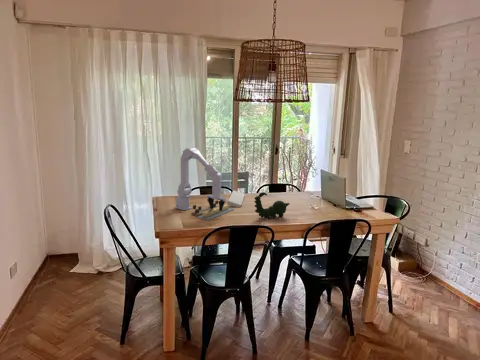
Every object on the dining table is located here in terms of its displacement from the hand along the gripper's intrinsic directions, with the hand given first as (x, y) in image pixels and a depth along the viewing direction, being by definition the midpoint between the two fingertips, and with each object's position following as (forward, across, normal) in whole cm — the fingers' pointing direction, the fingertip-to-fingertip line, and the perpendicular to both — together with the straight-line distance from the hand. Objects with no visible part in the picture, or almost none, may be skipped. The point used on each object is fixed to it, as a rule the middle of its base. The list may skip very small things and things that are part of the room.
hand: (216, 209), depth 242 cm
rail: (+2, 0, 0) cm, 2 cm away
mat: (+3, 0, 0) cm, 3 cm away
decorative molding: (+4, +8, -37) cm, 38 cm away
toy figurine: (+3, -34, -17) cm, 38 cm away
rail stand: (+3, +9, 0) cm, 9 cm away
